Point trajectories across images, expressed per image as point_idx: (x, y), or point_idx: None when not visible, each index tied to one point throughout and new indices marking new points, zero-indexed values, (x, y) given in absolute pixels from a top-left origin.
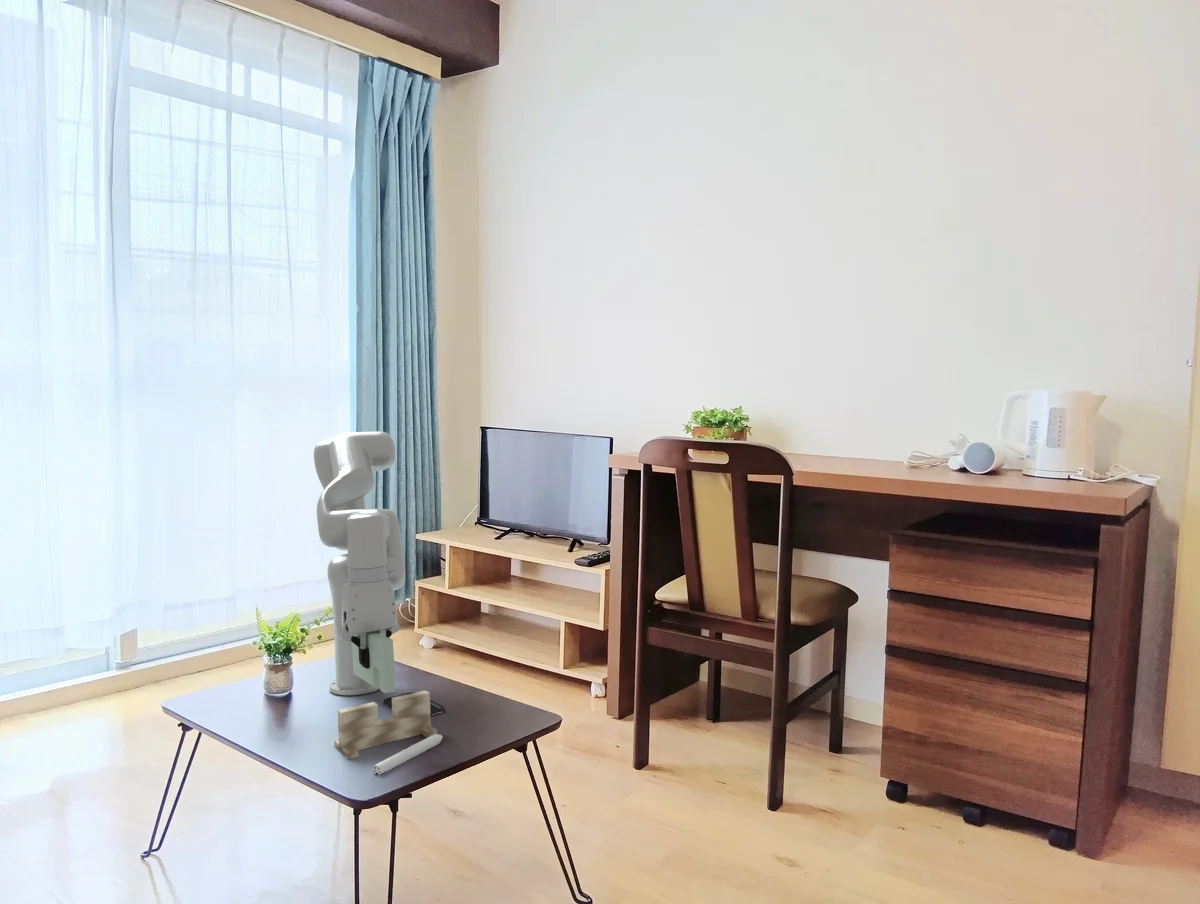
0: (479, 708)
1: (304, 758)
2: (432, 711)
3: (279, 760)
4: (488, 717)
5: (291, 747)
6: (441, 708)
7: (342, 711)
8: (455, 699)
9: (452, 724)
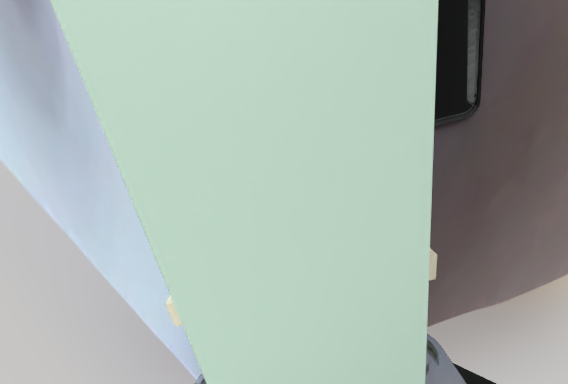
0: (543, 132)
1: (123, 243)
2: (440, 121)
3: (70, 232)
4: (519, 197)
5: (84, 173)
6: (471, 105)
7: (179, 319)
8: (547, 20)
9: (440, 201)
